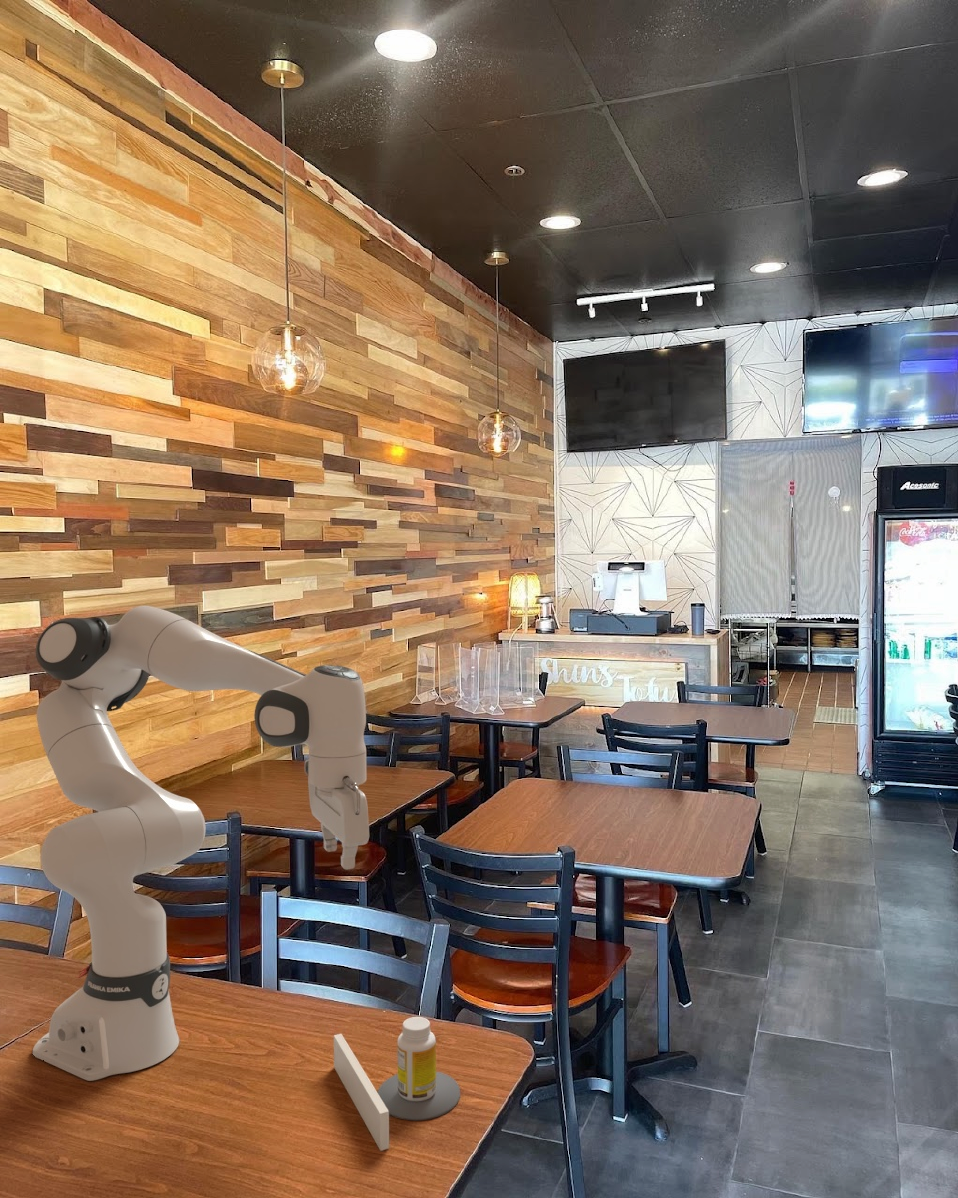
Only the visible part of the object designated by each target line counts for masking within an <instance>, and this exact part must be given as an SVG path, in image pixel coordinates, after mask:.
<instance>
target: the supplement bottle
mask: <svg viewBox="0 0 958 1198" xmlns="http://www.w3.org/2000/svg"><path fill="white" fill-rule="evenodd" d="M436 1039H437V1038H436V1035H435V1034H434V1033H433V1032H432V1031H431V1022H430V1021H429V1019H427V1018H425V1017H422V1016H412V1017H408V1018H406V1019H405V1020H404V1021H403V1023H402V1032H401V1033H400V1034H399V1036H398V1038H397V1041H396V1042H397V1044H396V1045H397V1048H396V1049H397V1050H396V1051H397V1053H396V1055H397V1074H398V1092H399V1094H400V1096H401V1097H402V1098H404V1099H406V1100H408V1101H414V1102H418V1101H424V1100H427V1099H429V1098H430V1097H432V1096H433V1094H434V1093H435V1091H436V1071H437V1049H436V1048H437V1045H436V1044H437V1041H436Z"/></svg>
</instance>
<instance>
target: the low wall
mask: <svg viewBox="0 0 958 1198" xmlns="http://www.w3.org/2000/svg"><path fill="white" fill-rule="evenodd" d="M333 1068H334V1069H335V1072H336V1074H337V1075H338V1077H339V1079H340V1081H341V1083H342V1084H343V1086H344V1088H345V1090H346V1091H347V1093H348V1095H349V1097H350V1098H351V1100H352V1102H353V1105H354V1106H355V1108H356V1110H357V1112H358V1113H359V1115H360V1117H361V1118H362V1121H363V1122H364V1123H365V1125H366V1128H367V1129H368V1132H370V1134H371V1138H372V1139H373V1140H374V1142H375V1143H376V1146H377V1147H378V1149H379V1151H380V1152H382V1151H385V1150H389V1149H390V1115H389V1111H388V1109H387V1108H386V1106H385V1104H384V1103H383V1101H382V1099H381V1098H380V1096H379V1094H378V1090H376V1088H375V1086H374V1085H373V1083H372V1081H371V1080H370V1078H369V1077H368V1076H369V1075H368V1074H367V1073H366V1071H365V1070H364V1068H363V1066H362V1065H361V1063H360V1062H359V1060H358V1058H357V1057H356V1055H355V1053H354V1052H353V1050H352V1049H351V1047H350V1045H349V1044H348V1042H347V1041H346V1039H345V1037H344V1036H343V1034H342V1033H337V1034H334V1035H333Z"/></svg>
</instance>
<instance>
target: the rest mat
mask: <svg viewBox="0 0 958 1198" xmlns="http://www.w3.org/2000/svg"><path fill="white" fill-rule="evenodd" d="M378 1087H379V1088H378V1090H377V1093H378V1094H379V1096H380V1098H381V1099H382V1101H383V1103H384V1104H385V1106H386V1108H387V1109H388V1111H389V1116H391V1117H394V1118H397V1119H400V1120H405V1121H428V1120H432V1119H435V1118H438V1117H441V1116H443V1115H445V1114H447V1113H449V1112H450V1111H452V1110H453V1109H454V1108H455V1107H456V1106H457V1105H458V1103H459V1101H460V1098H461V1087H460V1085H459V1083H458V1082H457V1081H456V1079H454V1078H453V1077H452V1076H450V1075H449V1074H446V1073H444V1072H441V1071H437V1070H436V1091H435V1093H434V1094H433V1096H432V1097H430V1098H429V1099H427V1100H424V1101H418V1102H414V1101H408V1100H406V1099H404V1098H402V1097H401V1096H400V1094H399V1092H398V1073H396V1074H395V1075H392V1076H390V1077H388V1078H387V1079H386V1080H384V1082H382V1084H380V1086H378Z"/></svg>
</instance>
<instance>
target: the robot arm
mask: <svg viewBox="0 0 958 1198" xmlns="http://www.w3.org/2000/svg"><path fill="white" fill-rule="evenodd" d="M35 657H36V661H37V662H38V665H40V667H41V668H42V670H44V671H45V672H46V673H47V674H48V675H49V676H51V678H54V679H55V680H58V681H61V683H60V685H59V687H58V688H57V689H55V690H53V691H51V692H50V693H48V694H47V695H46V696H45V697H44V698H43V699H42V700H41V701H40V702H39V705H38V706H37V709H36V720H37V721H36V722H37V727H38V732H39V736H40V740H41V742H42V744H41V745H42V746H43V749H44V752H45V755H46V757H47V759H48V762H49V764H50V766H51V768H52V770H53V773H54V776H55V778H56V780H57V782H58V784H59V787H60V789H61V791H62V793H63V795H64V796H65V797H66V798H67V800H69V801H70V802H71V803H73V804H75V805H76V806H80V807H83V808H87V809H91V810H94V811H95V812H91V813H88V814H87V813H86V814H83V815H79V816H77V817H74V818H72V819H69V820H68V821H65V822H63V823H61V824H59V825H57V826H55V827H52V828H51V829H50V831H49V832H48V833H47V835H46V836H45V838H44V841H43V843H42V846H41V850H40V851H41V852H40V863H41V867H42V868H41V869H42V870H43V873H44V875H45V877H46V879H48V881H49V882H50V883H51V884H52V885H53V886H54V887H56V888H58V889H59V890H61V891H64V892H65V893H67V894H69V895H70V896H72V897H73V898H74V899H76V901H77V902H78V903H79V904H80V906H81V908H82V910H84V912H85V914H86V917H87V920H88V921H87V922H88V924H89V926H88V927H89V932H90V941H91V942H90V943H91V945H90V946H91V962H89V963H88V965H87V966H86V967H84V968H82V969H80V970H78V971H77V973H78V974H79V973H80V974H79V975H78V976H77V978H78V979H80V978H83V977H85V976H86V977H85V980H84V983H83V986H82V987H80V988H79V989H78V990H77V991H75V992H74V993H73V994H72V995H70V996H69V997H68V998H66V999H65V1000H64V1001H63V1002H62V1003H60V1005H59V1006H57V1007H56V1008H55V1010H54V1012H53V1013H52V1015H51V1018H50V1023H49V1029H48V1030H49V1031H47V1033H45V1034H44V1035H43V1036H42V1037H41V1038H40V1039H39V1040H37V1042H36V1043H35V1044H34V1046H33V1049H32V1054H33V1055H34V1056H35V1058H36V1059H39V1060H41V1061H43V1060H44V1062H46V1063H48V1064H50V1065H52V1066H55V1067H56V1068H58V1069H61V1070H63V1071H65V1072H67V1073H69V1074H72V1075H74V1076H76V1077H78V1078H80V1079H82V1080H85V1081H89V1082H91V1081H92V1082H93V1081H97V1080H101V1079H104V1078H107V1077H109V1076H114V1075H118V1074H119V1075H120V1074H126V1073H132V1072H136V1071H140V1070H143V1069H146V1068H149V1067H152V1066H154V1065H156V1064H159V1063H160V1062H162V1061H164V1060H165V1059H167V1058H168V1057H169V1056H171V1055H173V1053H174V1052H175V1051H176V1050H177V1048H178V1046H179V1044H180V1037H179V1035H178V1032H177V1028H176V1025H175V1024H176V1023H175V1018H174V1015H173V1014H174V1013H173V1009H172V1003H171V996H170V995H171V994H170V982H171V981H170V980H171V961H170V955H169V954H168V952H167V951H168V950H167V948H168V947H167V915H166V911H165V909H164V908H163V905H161V903H160V902H159V901H157V900H156V899H155V898H152V897H150V896H147V895H144V894H140V893H135V890H134V885H133V884H134V878H135V877H136V876H140V875H142V874H146V873H151V872H152V871H153V872H154V871H157V870H160V869H164V868H167V867H171V866H174V865H176V864H177V863H180V862H181V861H184V860H185V859H187V858H189V857H190V856H192V855H194V854H196V853H197V852H198V851H199V850H200V849H201V847H202V845H203V843H204V841H205V836H206V821H205V817H204V813H203V812H202V810H201V809H200V807H199V806H198V805H197V804H196V802H194V801H193V800H192V799H190V798H187V797H184V796H180V795H179V794H178V795H177V794H175V793H173V792H170V791H169V790H166V789H165V788H162V787H161V786H159V785H158V784H156V783H155V782H154V781H152V780H151V779H150V778H148V777H147V776H146V775H145V774H144V773H142V771H140V769H138V767H137V766H136V765H135V763H134V762H133V761H132V759H131V757H130V755H129V753H127V751H126V748H125V747H124V745H123V743H122V741H121V740H120V739H121V738H120V737H119V735H118V733H117V732H116V729H115V727H114V726H113V724H112V722H111V720H110V718H109V717H110V716H109V715H108V712H112V711H113V712H114V711H116V710H119V709H121V708H122V707H123V706H124V705H125V703H128V702H130V701H131V700H133V699H134V698H135V697H136V696H137V695H138V694H140V693H141V692H142V690H143V689H144V688H145V686H146V684H147V683H148V680H149V678H150V675H151V676H152V677H154V678H156V679H158V680H159V681H161V682H163V683H164V684H166V685H168V686H171V687H174V688H177V689H181V690H183V691H186V692H187V691H188V692H205V691H218V690H219V691H221V690H240V691H247V692H252V693H254V694H257V695H259V696H260V697H259V698H258V700H257V702H256V705H255V707H254V708H255V709H254V715H253V716H254V725H255V727H256V731H257V732H258V734H259V736H260V737H261V739H262V740H263V741H264V742H265V743H267V744H268V745H269V746H271V747H275V748H290V747H293V746H298V745H305V746H307V747H308V759H306V760H304V773H305V774H306V775H307V777H308V778H307V784H308V785H307V787H308V798H309V808H310V811H311V815H312V816H313V817H314V818H315V819H316V820H317V821H318V822H320V829H321V833H322V839H323V848H324V850H325V851H326V852H327V853H329V852H330V853H331V852H336V851H337V849H338V840H339V842H340V843H341V847H342V854H341V855H340V865H341V867H342V868H343V869H344V870H353V869H354V868H355V867H356V855H357V852H358V847H359V846H364V845H366V844H368V842H369V839H370V824H369V821H370V820H369V809H368V808H369V807H368V801H367V800H368V799H367V797H366V794H365V793H364V792H363V791H362V790H361V789H359V786H360V785H363V784H364V783H366V782H367V779H368V778H367V747H366V742H365V737H364V735H365V728H366V725H367V712H366V711H367V710H366V709H367V707H366V694H365V686H364V683H363V680H362V678H361V676H360V674H359V673H358V672H357V671H355V670H354V669H352V668H350V667H347V666H342V665H332V664H324V665H319V666H315V667H313V668H312V669H311V670H310V671H309V672H308V673H307V674H305V673H304V672H301V671H299V670H296V669H294V668H292V667H290V666H287V665H285V664H283V663H281V662H278V661H276V660H273V659H271V658H270V657H267V656H265V655H262V654H260V653H257V652H254V651H252V650H250V649H247V648H245V647H243V646H241V645H239V644H237V643H234V642H232V641H229V640H228V639H226V638H223V637H222V636H220V635H218V634H216V633H214V632H211V631H210V630H208V629H206V628H204V627H203V626H201V625H198V624H196V623H195V622H193V621H190V620H189V619H187V618H185V617H183V616H180V615H179V614H176V613H175V612H171V611H169V610H166V609H163V608H159V607H155V606H153V605H152V606H151V605H139V606H135V607H133V608H131V609H130V610H128V611H127V612H125V614H123V616H122V617H121V618H120V619H119V620H118V622H116V623H114V624H108V622H107V621H106V620H105V619H104V618H102V617H89V618H83V617H82V618H81V617H65V618H59V619H58V620H55V621H54V622H52V623H50V624H49V625H47V627H45V629H44V630H43V631H42V633H41V634H40V635H39V637H38V640H37V641H36V647H35ZM336 838H337V839H336ZM33 1055H32V1056H33ZM34 1056H33V1057H34Z"/></svg>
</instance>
